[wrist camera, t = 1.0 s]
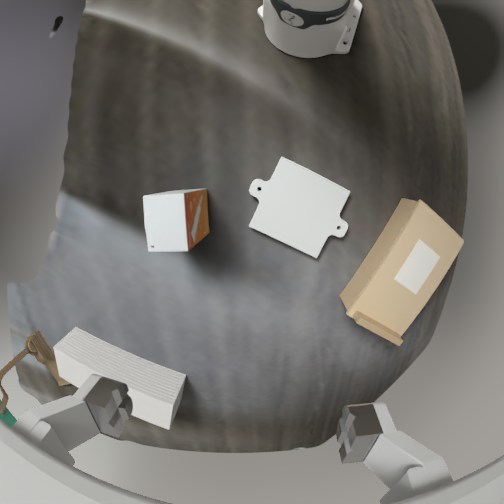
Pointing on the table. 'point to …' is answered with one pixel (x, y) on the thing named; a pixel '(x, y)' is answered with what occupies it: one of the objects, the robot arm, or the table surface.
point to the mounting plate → (299, 207)
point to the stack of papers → (122, 375)
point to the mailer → (378, 252)
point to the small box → (175, 219)
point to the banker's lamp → (43, 354)
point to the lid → (407, 275)
